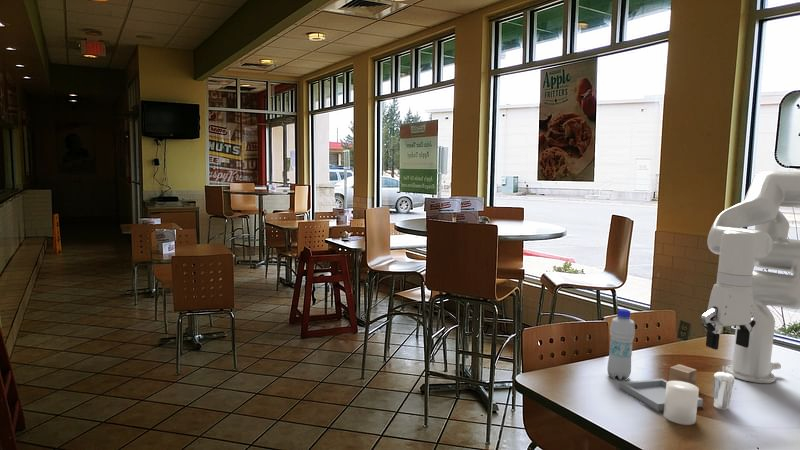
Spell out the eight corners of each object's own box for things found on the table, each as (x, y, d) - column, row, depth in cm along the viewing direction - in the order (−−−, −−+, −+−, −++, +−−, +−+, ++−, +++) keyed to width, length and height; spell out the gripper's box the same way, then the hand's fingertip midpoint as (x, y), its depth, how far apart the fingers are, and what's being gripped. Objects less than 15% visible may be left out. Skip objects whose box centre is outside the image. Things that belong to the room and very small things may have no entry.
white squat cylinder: (679, 410, 139) (682, 379, 139) (702, 423, 133) (705, 390, 132) (656, 413, 137) (659, 381, 137) (678, 426, 131) (681, 393, 130)
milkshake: (729, 404, 144) (733, 367, 143) (732, 412, 139) (736, 374, 138) (709, 401, 146) (713, 364, 145) (711, 408, 141) (715, 370, 140)
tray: (661, 385, 155) (662, 378, 155) (702, 406, 142) (702, 399, 142) (619, 389, 151) (620, 382, 151) (657, 411, 138) (657, 404, 138)
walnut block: (677, 381, 160) (678, 364, 159) (695, 386, 156) (696, 369, 155) (668, 384, 157) (670, 367, 156) (686, 390, 153) (688, 373, 152)
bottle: (633, 382, 157) (639, 313, 155) (608, 379, 158) (613, 310, 156) (628, 374, 163) (634, 307, 161) (604, 371, 165) (609, 305, 162)
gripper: (747, 276, 145) (740, 340, 147) (694, 277, 140) (687, 343, 142) (774, 282, 138) (766, 349, 140) (719, 284, 133) (712, 353, 135)
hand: (726, 346), depth 141 cm, fingers open, 9 cm apart
